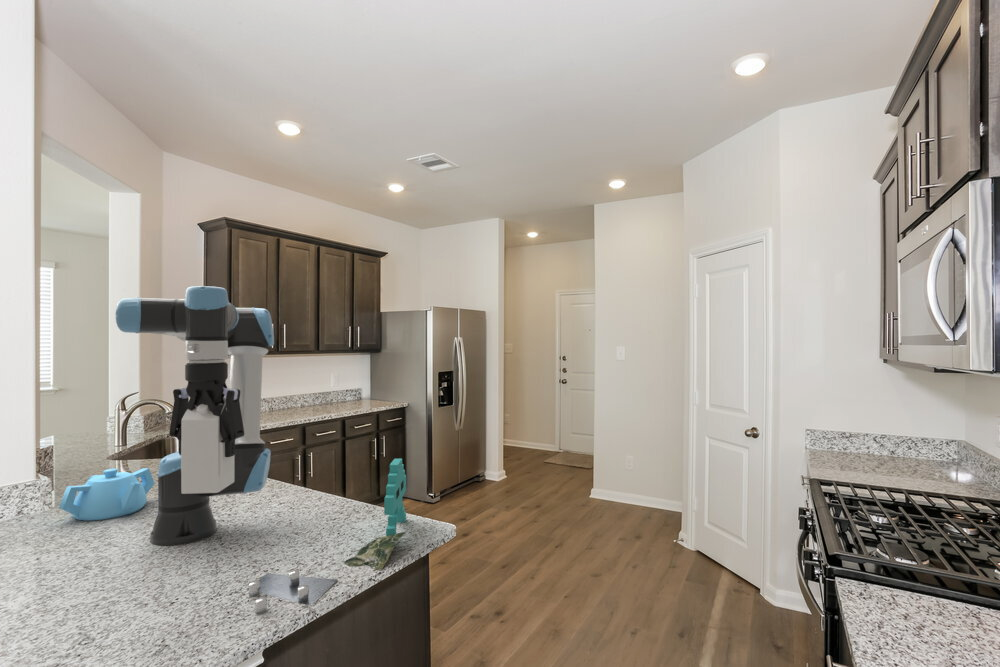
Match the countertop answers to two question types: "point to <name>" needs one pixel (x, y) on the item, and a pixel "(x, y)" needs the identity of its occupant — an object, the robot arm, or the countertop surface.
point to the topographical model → (375, 552)
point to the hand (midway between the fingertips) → (206, 471)
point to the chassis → (289, 588)
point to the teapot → (108, 495)
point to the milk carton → (202, 452)
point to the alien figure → (395, 496)
